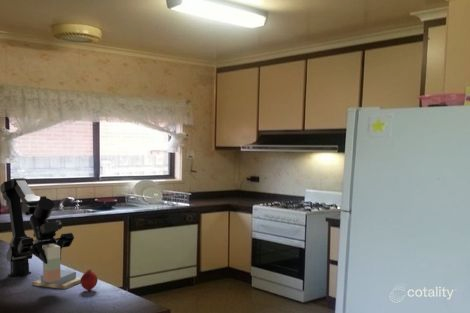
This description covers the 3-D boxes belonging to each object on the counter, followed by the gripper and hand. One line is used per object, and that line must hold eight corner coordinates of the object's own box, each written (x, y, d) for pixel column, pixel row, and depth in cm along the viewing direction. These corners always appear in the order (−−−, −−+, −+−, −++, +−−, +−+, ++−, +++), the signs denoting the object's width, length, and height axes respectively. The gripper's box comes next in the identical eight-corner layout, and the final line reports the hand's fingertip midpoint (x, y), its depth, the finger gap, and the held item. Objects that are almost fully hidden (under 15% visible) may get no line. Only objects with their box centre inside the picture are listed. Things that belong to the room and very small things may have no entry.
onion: (92, 293, 167) (92, 271, 166) (77, 292, 168) (77, 270, 168) (100, 288, 172) (100, 267, 172) (85, 288, 173) (85, 266, 173)
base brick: (40, 281, 177) (40, 275, 177) (56, 275, 185) (56, 269, 185) (60, 284, 174) (60, 277, 174) (76, 277, 182) (75, 271, 182)
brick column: (43, 279, 167) (43, 244, 167) (55, 277, 170) (55, 242, 170) (48, 282, 164) (47, 246, 164) (60, 279, 167) (60, 244, 167)
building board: (32, 285, 177) (32, 281, 177) (52, 277, 187) (52, 274, 187) (65, 288, 172) (65, 285, 172) (84, 280, 182) (84, 277, 182)
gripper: (20, 216, 163) (32, 252, 155) (71, 211, 176) (85, 244, 168) (12, 235, 169) (23, 271, 161) (63, 229, 182) (75, 262, 174)
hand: (53, 262), depth 166 cm, fingers closed on brick column, 4 cm apart
